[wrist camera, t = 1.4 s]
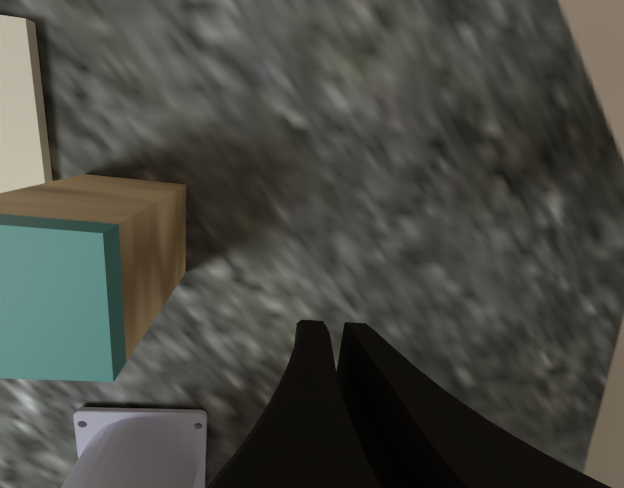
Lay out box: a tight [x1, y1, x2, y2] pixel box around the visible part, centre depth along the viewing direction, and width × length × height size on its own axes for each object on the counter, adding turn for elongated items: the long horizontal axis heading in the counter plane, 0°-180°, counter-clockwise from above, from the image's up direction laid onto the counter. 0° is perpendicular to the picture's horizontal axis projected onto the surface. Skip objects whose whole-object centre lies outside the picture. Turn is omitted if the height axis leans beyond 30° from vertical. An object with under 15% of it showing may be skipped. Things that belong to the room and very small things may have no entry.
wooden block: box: [0, 174, 186, 382], centre depth 14 cm, size 5×5×9 cm
